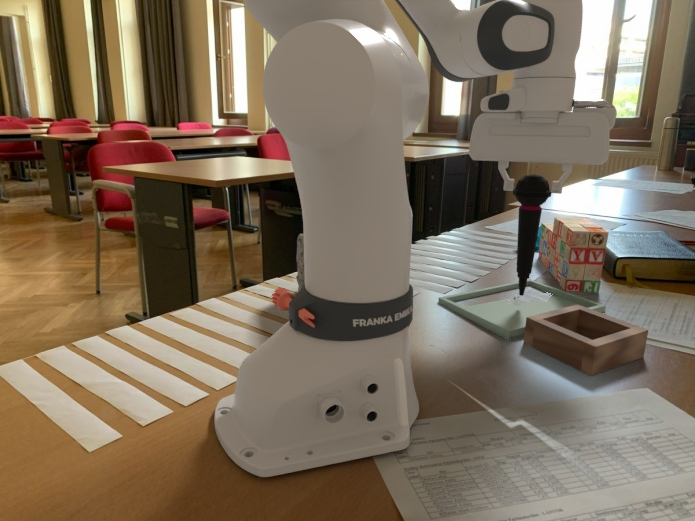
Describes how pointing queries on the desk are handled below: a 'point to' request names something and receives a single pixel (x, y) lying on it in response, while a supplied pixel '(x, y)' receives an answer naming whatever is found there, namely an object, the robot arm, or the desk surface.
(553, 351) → the holder
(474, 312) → the tray
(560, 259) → the stack of blocks
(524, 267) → the microphone
